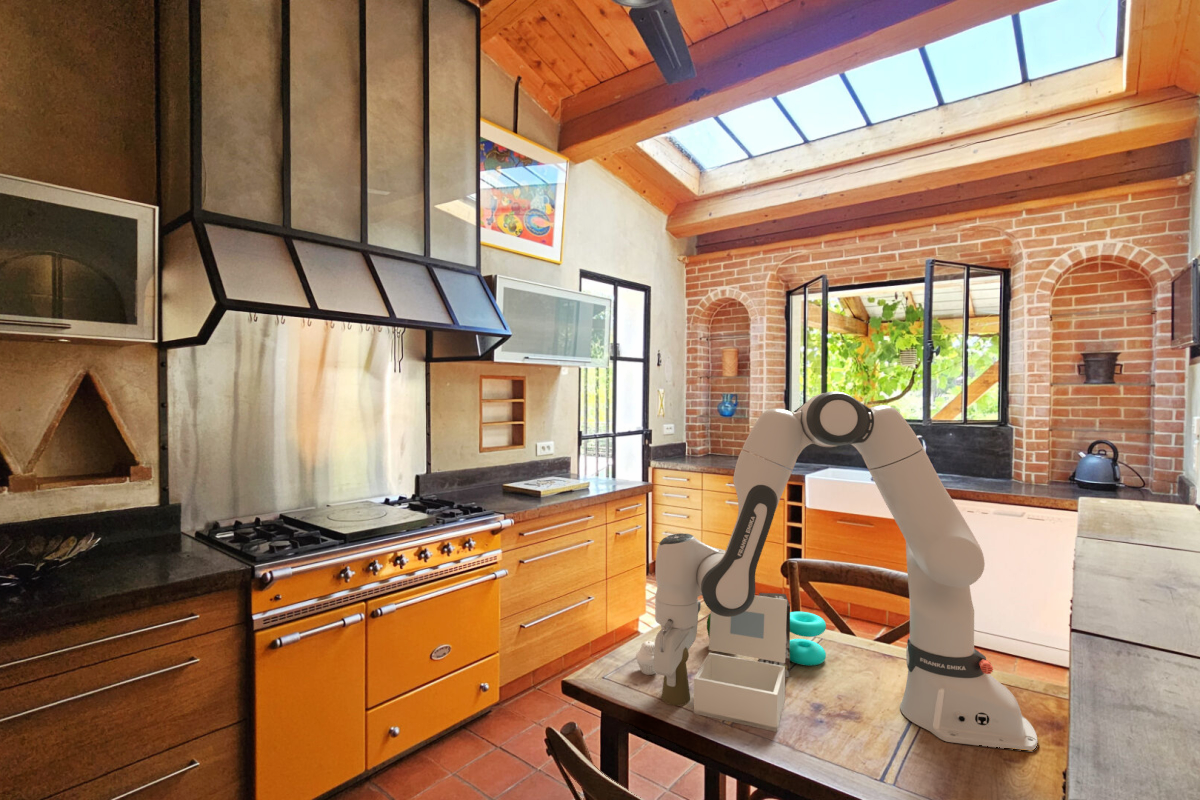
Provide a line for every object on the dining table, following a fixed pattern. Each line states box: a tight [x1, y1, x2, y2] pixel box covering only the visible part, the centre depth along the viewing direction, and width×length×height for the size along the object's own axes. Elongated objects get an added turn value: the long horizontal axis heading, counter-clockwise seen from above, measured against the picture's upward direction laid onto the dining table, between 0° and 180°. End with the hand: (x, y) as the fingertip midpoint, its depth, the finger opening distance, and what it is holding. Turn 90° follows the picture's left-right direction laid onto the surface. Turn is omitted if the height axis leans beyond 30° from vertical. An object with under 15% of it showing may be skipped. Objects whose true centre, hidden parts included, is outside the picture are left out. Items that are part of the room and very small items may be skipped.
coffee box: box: [758, 592, 791, 678], centre depth 138 cm, size 9×6×16 cm
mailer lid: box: [708, 595, 787, 663], centre depth 128 cm, size 16×13×1 cm
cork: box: [661, 647, 691, 706], centre depth 124 cm, size 6×6×11 cm
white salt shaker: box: [635, 640, 656, 676], centre depth 136 cm, size 6×6×7 cm
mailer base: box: [693, 652, 786, 733], centre depth 121 cm, size 16×13×7 cm
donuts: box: [790, 611, 827, 666], centre depth 143 cm, size 10×10×10 cm
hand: (676, 678), depth 124 cm, fingers closed on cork, 5 cm apart
